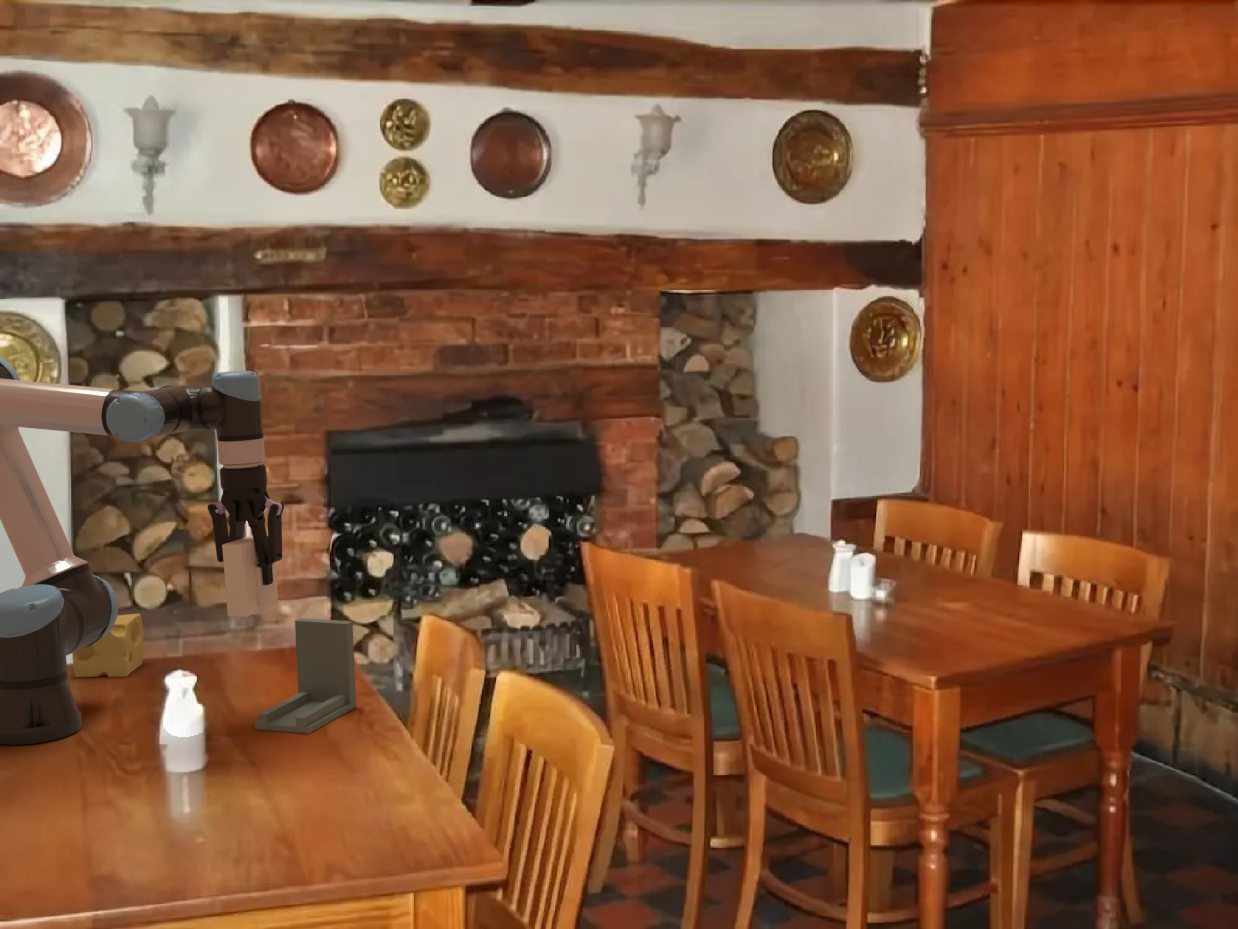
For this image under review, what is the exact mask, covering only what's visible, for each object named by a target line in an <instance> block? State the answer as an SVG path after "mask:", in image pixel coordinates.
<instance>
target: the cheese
mask: <svg viewBox="0 0 1238 929" xmlns="http://www.w3.org/2000/svg"><path fill="white" fill-rule="evenodd" d="M143 627H144V626H143V620H142V615H141V613H129V614H119V615H117V619H116V621H115V624H114V626H113V628H112V629H111V631H110V632H109V633H108V634H107V635H106V636H104V637H103V638H102V639H100V640H99V641H98V642H96V643H95V644H93V645H90V646H88V647H85V648H82V649H80V650H77V651H75V652H73V653H71V654H72V665H73V671H74V672H73V673H74V677H75V678H95V677H101V676H107V677H108V678H109V677H110V678H127V677H128V676H130V674H131V673H132V672H133V671H135V670H136V669H138V668H139V667H141V665H143V659H144V628H143Z"/></svg>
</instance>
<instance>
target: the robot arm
mask: <svg viewBox="0 0 1238 929" xmlns="http://www.w3.org/2000/svg"><path fill="white" fill-rule="evenodd" d="M211 379H212V381H211V384H204V385H172V384H171V385H169V384H167V385H161V386H155V387H150V388H149V389H148V390H144V391H142V390H141V391H140V390H139V391H138V390H129V389H128V390H127V389H117V388H106V387H105V388H104V387H95V386H85V385H76V384H75V385H74V384H66V383H64V384H63V383H53V382H43V381H41V382H40V381H33V380H21V378H20V376H19V374H18V373H17V371H16V370H15V368H14V367H13V366H12V365H11V364H10V363H9V362H8V361H7V360H5V359H3V358H2V357H0V522H1V524H2V526H3V529H4V531H5V533H6V535H7V538H8V540H9V542H10V544H11V547H12V549H13V552H14V554H15V555H16V557H17V560H18V562H19V565H20V567H21V568H22V570H23V573H24V576H25V578H24V581H23V583H22V586H19V587H17V588H15V587H14V588H13V587H12V588H10V589H6V590H4V591H2V592H0V745H12V746H13V745H14V746H15V745H16V746H17V745H19V746H20V745H32V744H38V743H46V742H50V741H55V740H59V739H63V738H66V737H68V736H71V735H74V734H75V733H77V732H79V731H80V730H81V729H82V727H83V726H82V725H83V720H82V712H81V710H80V708H79V707H78V706H77V705H78V704H77V703H76V700H75V699H76V698H75V697H74V695H73V691H72V689H71V687H70V684H69V680H68V666H67V662H68V661H67V656H68V655H71V654H72V653H73V652H75V651H77V650H80V649H82V648H85V647H88V646H90V645H93V644H95V643H96V642H98V641H99V640H100V639H102V638H103V637H104V636H106V635H107V634H108V633H109V632H110V631H111V629H112V628H113V626H114V624H115V621H116V619H117V615H118V614H119V602H118V597H117V593H116V592H115V590H114V588H113V587H112V585H111V584H110V583H109V582H108V581H107V580H105V579H102V578H101V577H100V576H98V575H95V574H93V572H92V570H91V567H90V564H89V563H88V562H89V561H87V560H85V559H82V558H80V557H77V556H76V555H75V554H74V552H73V550H72V547H71V544H70V543H69V541H68V540H69V539H68V538H67V536H66V534H65V532H64V529H63V526H62V525H61V522H60V520H59V518H58V515H57V513H56V511H55V509H54V507H53V505H52V502H51V500H50V498H49V495H48V493H47V490H46V489H45V486H44V484H43V482H42V480H41V477H40V475H39V473H38V470H37V468H36V466H35V464H34V461H33V460H32V457H31V455H30V453H29V450H28V449H27V445H26V444H25V441H24V440H23V437H22V435H21V433H20V430H19V428H25V429H26V428H27V429H35V430H37V429H38V430H47V431H59V432H60V431H61V432H67V433H68V432H70V433H79V434H91V435H101V436H111V437H116V438H117V439H118V440H121V441H122V442H128V443H129V442H130V443H134V442H136V443H137V442H138V443H141V442H147V441H150V440H152V439H155V438H160V437H163V436H167V435H172V434H177V433H182V432H189V431H190V432H191V431H192V432H193V431H206V430H207V431H216V439H217V441H216V442H217V445H216V446H217V456H218V458H217V459H218V464H219V465H221V466H222V467H220V469H219V480H220V481H219V483H220V489H222V490H221V491H222V495H221V497H220V500H219V501H217V502H213V503H210V504H208V505H207V511H208V512H209V515H210V518H211V521H212V529H213V537H214V545H215V551H216V559H217V562H219V563H224V561H223V548H222V545H223V544H226V543H229V542H232V541H236V540H239V539H242V538H244V530H245V524H246V523H247V524H248V527H249V528H250V531H251V534H252V535H253V539H254V544H255V548H256V552H257V556H258V560H259V564H257V567H255V569H256V582H257V595H258V606H263V605H266V604H268V603H271V598H270V584H272V583H273V571H272V565H273V563H274V562H275V563H277V562H279V561H281V560H282V559H283V529H282V528H283V524H282V523H283V522H282V516H283V514H284V509H285V504H284V502H282V501H281V502H277V501H274V500H272V499H270V496H269V494H268V491H267V487H268V474H267V473H268V472H267V466H266V465H265V464H263V462H265V461H266V452H265V451H266V450H265V439H264V437H265V436H264V430H263V428H264V426H263V425H264V424H263V410H262V408H263V407H262V399H263V396H262V395H261V387H260V381H259V376H258V374H257V373H256V372H254V371H251V370H235V371H221V372H216V373H214V374H213V375H212V377H211ZM265 510H266V513H267V514H268V515H267V528H266V518H265V513H264V512H265ZM226 511H227V512H228V519H227V515H226V514H227V513H226ZM228 526H229V527H228ZM267 534H268V536H267Z"/></svg>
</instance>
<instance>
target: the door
mask: <svg viewBox="0 0 1238 929" xmlns="http://www.w3.org/2000/svg"><path fill="white" fill-rule="evenodd" d="M267 536H268V533H267ZM222 548H223V561H224V562H223V570H224V573H223V574H224V583H225V584H224V585H225V596H226V607H227V608H226V610H227V617H231V618H232V617H233V618H238V617H239V618H248V617H250V616H253V615H255V614H258V613H260V612H263V611H264V610H267V609H270V608H273V607H274V606H277V605H279V595H278V594H279V593H278V583H277V579H278V578H277V569H276V568H277V567H276V565H277V564H276V562H274V563H273V565H272V571H273V583H272V584H270V598H271V603H268V604H266V605H263V606H258V595H257V582H256V569H255V567H257V564H259V560H258V556H257V552H256V548H255V544H254V539H253V535H251V534H250V535H249V536H245V537H243V538H242V539H239V540H236V541H232V542H229V543H226V544H223V545H222Z"/></svg>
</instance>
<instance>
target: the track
mask: <svg viewBox="0 0 1238 929" xmlns="http://www.w3.org/2000/svg"><path fill="white" fill-rule="evenodd" d="M353 623H354V621H351V620H337V619H335V620H334V619H318V618H305V617H304V618H303V617H300V618H298V619H296V620H294V625H295V626H294V630H295V648H296V649H295V650H296V673H297V693H296V694H294V695H292V696H290V697H289V698H286V699H285V700H283V701H281V702H278V703H277V704H275V705H273V706H271V707H269V708H267V709H266V710H263V711H261V712H260V713H258V714H257V715H258V717H257V718H258V720H257V721H256V722H254V730H261V731H271V732H273V731H274V732H282V733H283V732H286V733H294V734H295V733H296V734H305V735H306V734H308V735H309V734H311V733H312V732H314V731H316V730H318V729H320V728H323V727H324V726H325V725H327V724H329V723H330V722H332V721H334V720H336V719H338V718H340V717H341V716H343V715H345V714H347V713H348V712H350V711H352V710H353V709H355V708H357V697H356V695H357V694H356V693H357V692H356V673H355V671H356V669H355V668H356V667H355V648H354V646H355V645H354V626H353Z"/></svg>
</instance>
